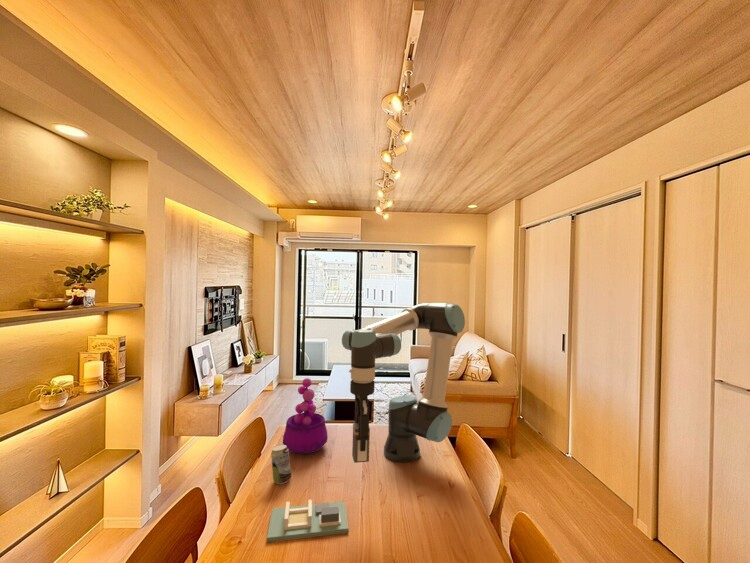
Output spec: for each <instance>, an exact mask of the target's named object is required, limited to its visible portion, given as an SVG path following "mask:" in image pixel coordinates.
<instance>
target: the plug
mask: <svg viewBox="0 0 750 563" xmlns="http://www.w3.org/2000/svg"><path fill="white" fill-rule="evenodd" d="M370 435H371V428H370V427H369V440H367V461H357V452H358V440H356V438H358V437H359V423H355V422H353V423H352V450H351V452H352V453H351V455H352V459H353V463H355V464H357V463H369V462H370Z"/></svg>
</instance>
